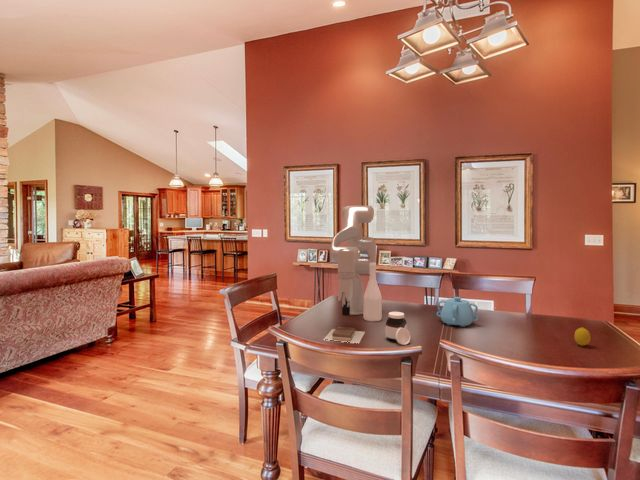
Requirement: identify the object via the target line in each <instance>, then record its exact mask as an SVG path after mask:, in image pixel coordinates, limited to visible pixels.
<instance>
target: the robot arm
mask: <svg viewBox="0 0 640 480" xmlns="http://www.w3.org/2000/svg"><path fill="white" fill-rule="evenodd" d="M341 216H342V219H343V220H342V228H341V230H340V231H338V232H337V233H336V234H335V235H334V236H333V238H332V239H331V243H330V250H329V258H330V259H331V261H332V262H334V263H337V279H338V280H339V281H338V291H337V300H338V301H337V302H342V304H341V306H342V308H341V309H342V310H341V311H342V314H341V315H342V316H347V317H348V316H349V317H350V315H355V316H356V315H357V316H358V315H363V302H364V280H363V279H362V277H361V276H360V275H362V274H363V275H364V274H366V275H367V274H368V275H370V267H369V264H370V263H372V262H373V263H376V264H377V243H376V240H375V238H374V237H371V236H364V235H363V232H364V229H363V226H362V224H363V223H364V224H366V223H367V224H368V223H371V222H373V220H374V217H375V211H374V206H372V205H347V206H343V207H342V208H341ZM361 223H362V224H361ZM344 242H346V246H340V245H341V244H342V243H344ZM361 255H366V256H361Z"/></svg>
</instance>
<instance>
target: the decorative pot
mask: <svg viewBox="0 0 640 480" xmlns="http://www.w3.org/2000/svg"><path fill="white" fill-rule="evenodd" d="M461 298H462V297H459V296H454V297H453V298H448V299H446V300H443V299H441V300H440V301H438V302H437V308H438V311H437V312H436V316H437V317H439V318H441V321H442V323H445V324H446V326H459V327H461V328H466V327H467V326H470V325H471V324H472V323H473V321H474V322H477V321H479V316H478V315H477V313H478V309H479V307H478V305H477V304H475V303H473V302H469V301H468V300H466V299H461ZM441 303H442V304H443V303H444V304H443V306H442V308H441ZM472 307H474V308H475V310H474V311H473V309H472Z"/></svg>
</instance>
